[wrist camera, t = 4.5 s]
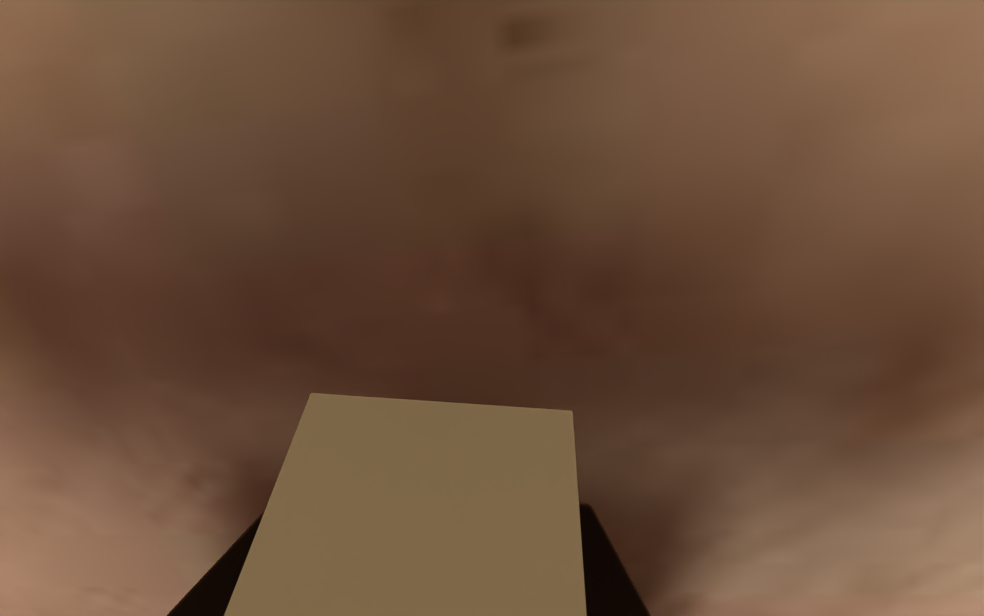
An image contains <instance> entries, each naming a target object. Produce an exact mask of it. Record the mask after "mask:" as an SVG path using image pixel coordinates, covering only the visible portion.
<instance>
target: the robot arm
mask: <svg viewBox="0 0 984 616" xmlns="http://www.w3.org/2000/svg"><path fill="white" fill-rule="evenodd" d="M579 511H580V526H581V541H582V555H583V570H584V585H585V599H586V614H587V616H651V615H650V613H649V611H648V609H647V607H646V606H645V604H644V602H643V600H642V598H641V596H640V595H639V593H638V591H637V589H636V587H635V585H634V583H633V582H632V580H631V578H630V576H629V574H628V572H627V570H626V569H625V567H624V565H623V563H622V561H621V559H620V558H619V556H618V554H617V552H616V550H615V548H614V546H613V545H612V543H611V541H610V539H609V537H608V535H607V534H606V532H605V530H604V528H603V526H602V524H601V522H600V521H599V519H598V517H597V515H596V513H595V511H594V510H593V508H592V507H591V506H590V505H589V504H587V503H580V502H579ZM264 512H265V511H264ZM264 512H263V513H262V514H261V515H260V516H259V517H258V518H257V519H256V521H255V522H254V523H253V524H252V525H251V526H250V527H249V528H248V529H247V530H246V531H245V532H244V533H243V534H242V536H241V537H240V538H239V539H238V540H237V541H236V542H235V543H234V544H233V545H232V546H231V547H230V548H229V549H228V550H227V552H226V553H225V554H224V555H223V556H222V557H221V558H220V559H219V560H218V561H217V562H216V563H215V564H214V565H213V567H212V568H211V569H210V570H209V571H208V572H207V573H206V574H205V575H204V576H203V577H202V578H201V579H200V580H199V582H198V583H197V584H196V585H195V586H194V587H193V588H192V589H191V590H190V591H189V592H188V593H187V594H186V595H185V596H184V598H183V599H182V600H181V601H180V602H179V603H178V604H177V605H176V606H175V607H174V608H173V609H172V610H171V611H170V613H169V614H168V615H167V616H224V614H225V612H226V609H227V607H228V604H229V602H230V599H231V596H232V594H233V591H234V589H235V586H236V584H237V581H238V578H239V576H240V573H241V571H242V568H243V566H244V563H245V560H246V558H247V555H248V553H249V550H250V548H251V545H252V542H253V540H254V537H255V535H256V532H257V530H258V527H259V524H260V522H261V519H262V517H263V514H264Z"/></svg>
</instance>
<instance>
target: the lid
mask: <svg viewBox="0 0 984 616" xmlns="http://www.w3.org/2000/svg"><path fill="white" fill-rule="evenodd" d="M224 616H587V614H586V599H585V585H584V570H583V555H582V541H581V526H580V511H579V497H578V482H577V468H576V453H575V438H574V424H573V411H570V410H556V409H541V408H526V407H512V406H497V405H482V404H468V403H453V402H438V401H423V400H409V399H394V398H379V397H365V396H350V395H335V394H321V393H310V396H309V399H308V401H307V404H306V406H305V409H304V411H303V414H302V417H301V419H300V422H299V424H298V427H297V429H296V432H295V435H294V437H293V440H292V442H291V445H290V447H289V450H288V453H287V455H286V458H285V460H284V463H283V465H282V468H281V471H280V473H279V476H278V478H277V481H276V483H275V486H274V489H273V491H272V494H271V496H270V499H269V501H268V504H267V507H266V509H265V512H264V514H263V517H262V519H261V522H260V524H259V527H258V530H257V532H256V535H255V537H254V540H253V542H252V545H251V548H250V550H249V553H248V555H247V558H246V560H245V563H244V566H243V568H242V571H241V573H240V576H239V578H238V581H237V584H236V586H235V589H234V591H233V594H232V596H231V599H230V602H229V604H228V607H227V609H226V612H225V614H224Z"/></svg>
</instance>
